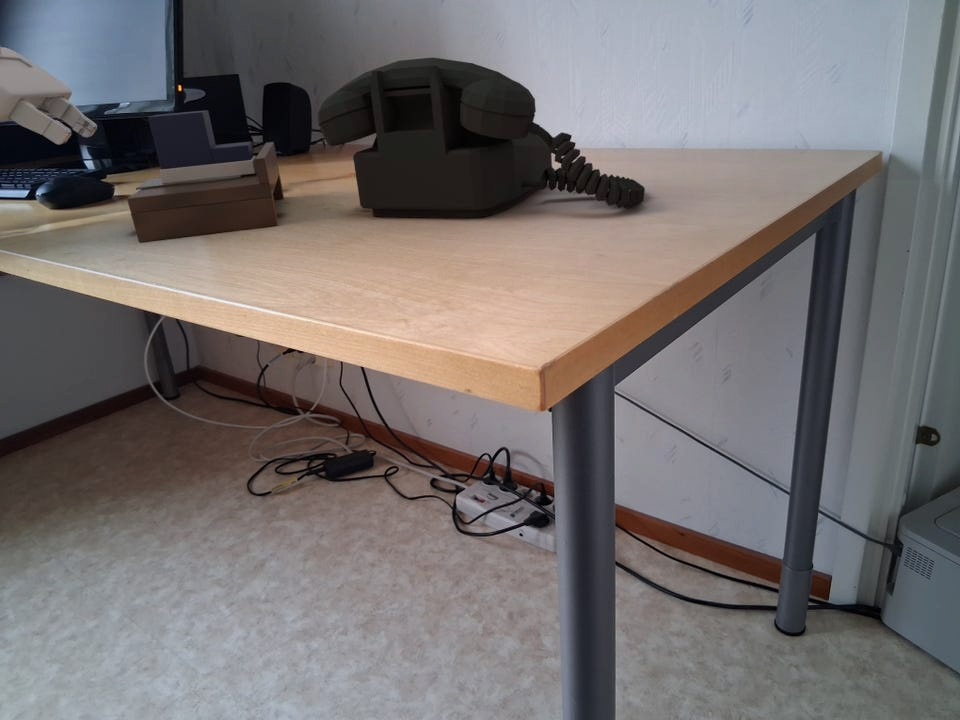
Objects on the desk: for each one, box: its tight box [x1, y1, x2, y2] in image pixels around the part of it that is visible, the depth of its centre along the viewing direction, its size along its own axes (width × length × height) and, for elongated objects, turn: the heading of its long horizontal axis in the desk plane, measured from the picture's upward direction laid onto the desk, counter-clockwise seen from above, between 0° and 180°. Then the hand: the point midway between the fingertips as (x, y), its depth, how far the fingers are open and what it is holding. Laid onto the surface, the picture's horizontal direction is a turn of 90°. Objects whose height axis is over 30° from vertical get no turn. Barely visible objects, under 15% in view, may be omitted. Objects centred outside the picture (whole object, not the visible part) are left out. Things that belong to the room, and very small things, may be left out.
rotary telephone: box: [317, 56, 646, 219], centre depth 74 cm, size 33×22×15 cm, turn 65°
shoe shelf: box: [126, 141, 285, 243], centre depth 80 cm, size 14×20×7 cm
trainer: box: [147, 109, 257, 184], centre depth 79 cm, size 10×5×7 cm, turn 103°
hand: (80, 135), depth 75 cm, fingers open, 8 cm apart
